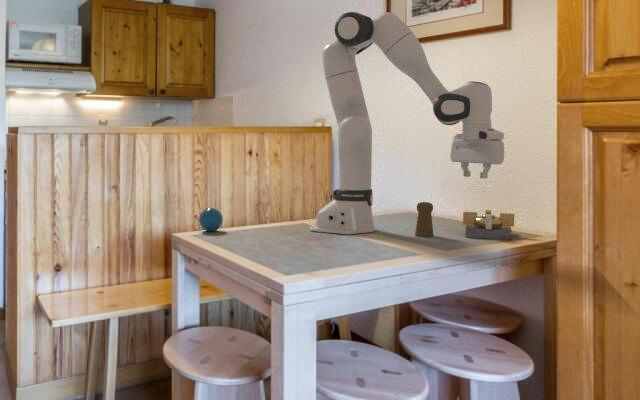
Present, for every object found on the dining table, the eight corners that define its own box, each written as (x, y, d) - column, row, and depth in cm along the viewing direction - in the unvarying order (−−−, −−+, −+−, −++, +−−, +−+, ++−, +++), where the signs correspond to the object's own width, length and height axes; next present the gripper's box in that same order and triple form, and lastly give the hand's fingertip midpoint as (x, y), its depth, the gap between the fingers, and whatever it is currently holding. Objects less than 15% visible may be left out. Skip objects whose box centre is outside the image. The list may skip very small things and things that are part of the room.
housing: (465, 237, 185) (465, 228, 184) (466, 231, 197) (466, 222, 197) (511, 239, 181) (511, 230, 181) (509, 233, 194) (509, 223, 193)
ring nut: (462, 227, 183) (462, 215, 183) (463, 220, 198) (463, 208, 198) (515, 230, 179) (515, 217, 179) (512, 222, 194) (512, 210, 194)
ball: (216, 234, 189) (215, 209, 189) (194, 232, 192) (194, 208, 191) (227, 230, 197) (227, 207, 196) (206, 228, 199) (206, 206, 199)
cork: (433, 237, 184) (434, 203, 183) (414, 237, 185) (415, 203, 184) (433, 234, 190) (434, 201, 189) (415, 233, 191) (415, 201, 190)
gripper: (446, 133, 190) (445, 175, 191) (493, 133, 172) (491, 180, 173) (460, 133, 193) (459, 175, 194) (508, 133, 175) (506, 179, 177)
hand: (475, 177), depth 184 cm, fingers open, 6 cm apart
